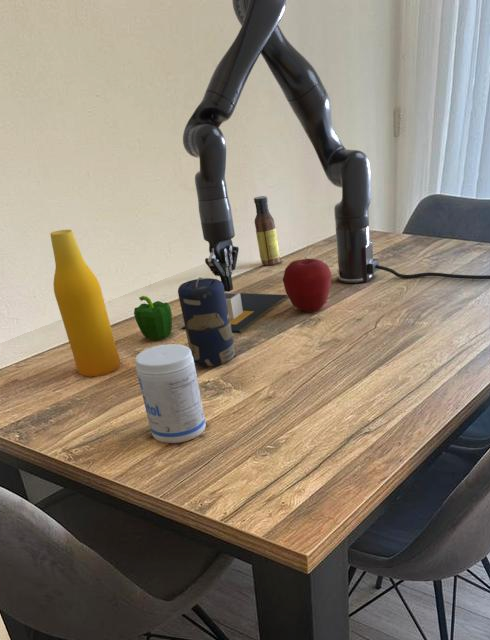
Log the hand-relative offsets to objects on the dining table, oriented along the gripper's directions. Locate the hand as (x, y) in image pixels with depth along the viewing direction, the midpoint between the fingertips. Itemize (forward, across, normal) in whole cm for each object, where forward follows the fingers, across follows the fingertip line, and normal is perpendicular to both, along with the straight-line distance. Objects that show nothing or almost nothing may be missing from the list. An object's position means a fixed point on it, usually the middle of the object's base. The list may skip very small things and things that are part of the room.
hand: (228, 290), depth 168 cm
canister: (+7, -28, -11) cm, 31 cm away
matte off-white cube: (+1, -1, 0) cm, 1 cm away
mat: (+7, +3, 0) cm, 7 cm away
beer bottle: (+7, -37, +13) cm, 40 cm away
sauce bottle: (+7, +49, +13) cm, 51 cm away
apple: (+7, +7, -19) cm, 21 cm away
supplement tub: (+7, -59, -22) cm, 63 cm away
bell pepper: (+7, -17, +11) cm, 21 cm away
